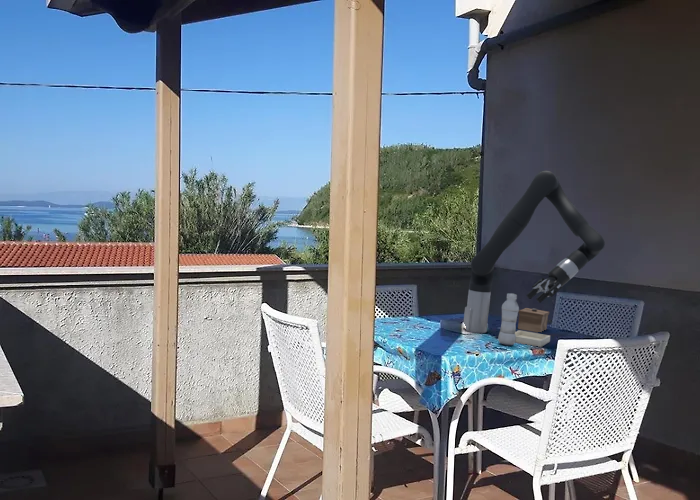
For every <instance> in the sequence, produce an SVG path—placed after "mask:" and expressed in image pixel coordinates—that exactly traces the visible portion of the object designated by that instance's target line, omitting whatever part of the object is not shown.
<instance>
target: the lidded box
mask: <svg viewBox="0 0 700 500" xmlns="http://www.w3.org/2000/svg"><path fill="white" fill-rule="evenodd" d="M518 314H519V315H518V323H517V330H521V331H527V332H533V333H538V332H541V333H543V332H544V330H545V331H546V330H547V328H548V319H549V315H550V311H547V310H543V309H542V310H541V309H538V308H536V307H535V308H534V307H533V308H528V307H525V308H523V309H519V311H518ZM542 331H543V332H542Z"/></svg>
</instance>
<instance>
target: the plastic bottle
mask: <svg viewBox="0 0 700 500" xmlns="http://www.w3.org/2000/svg"><path fill="white" fill-rule="evenodd" d="M517 299H518V295H517V294H515V293H512V292H511V293H506V300H505V301H504V302H503V303H502V305H501V323H500V324H501V326H500V330H499V332H498V338H497V339H498V343H499V344H502V345H504V346H512V345H513V346H514V345H515V344H516V343H515V341H516V334H515V332H516V330H517V329H516V328H517V327H516V324H517V319H518V318H517V317H518V316H519V315H518V314H519V313H518V312H519V310H520V307H519V304H518V302H517Z"/></svg>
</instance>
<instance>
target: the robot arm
mask: <svg viewBox="0 0 700 500" xmlns="http://www.w3.org/2000/svg"><path fill="white" fill-rule="evenodd" d="M544 198H546V199H547V200H548V201H549V202H550V204H552V205H553V207H554V208H555V209H556V211H557V212H558V213H559V215H560V217H561V219H562V220H563V221H564V223H565V224H566V226H567V227H568V228H569V230H570V231H571V232H572V233H573V235H574V236H575V237H577V238H578V237H579V238H580V239H581V240H582V242H583V243H582V244H581V245H580V246H579V247H578V248H577V249H576V250H574V251H572V252H570V254H569V255H568V256H566V257H565V258H564V259H562V260H561V261H560V262H558V263H557V264H556V265H555V266H554V267H552V268H551V270H550V271H548V273H547V275H548V277H547V278H546V279H545V278H544V277H541V278H540V279H539V280H537V281H536V282H535V283H534V284H533V285H531V288H532V290H530V291H529V292H528V293H527V294H526V297H527V298H528V299H529V300H531V299H533V298H534V297H536V295H538V293H540V292H541V294H540V295H538V296H537V297H536V301H537V302H538V303H539V304H541V303H542V302H544V300H545V299H547V298H549V297H551V298H552V297H553V296H555V295H556V294H557V293H558V292H559V291H560V290H562V289H563V286H565V284H567V283H568V282H569V281H570V280H571V279H573V278H574V277H575V276H576V275H577V273H579V271H580V270H582V269H583V268H584V267H585V266H586V265H587V264H588V263H589V262H590V261H592V260H593V259H594V258H596V257H597V256H598V255H599V254H600V253H601V252H602V251H603V249H604V248H605V244H606V243H605V239H604V238H603V236H602V235H601V234H600V232H598V231H597V230H596V228H594V227H593V226H592V225H590V224H589V222H588V221H587V219H586V218H585V217H584V215H583V214H582V213H581V212H580V210H579V209H578V208H577V207H576V206H575V205H574V203H572V201H571V200H570V199H569V198H568V196H567V195H566V193H565V191H564V189H563V187H562V185H561V184H560V181H559V178H558V177H557V175H555V173H553V172H552V171H550V170H543V171H539V172H538V173H537V174H536V175H535V176H534V178H533V179H532V181H531V182H530V184H529V186H528V187H527V189H526V191H524V193H523V195H522V196H521V197H520V199H519V200H518V201H517V202H516V203H515V204H514V205H513V206H512V208H511V209H510V210H509V211H508V212H507V214H506V215H505V216H504V218H503V219H502V220H501V222H500V224H499V225H497V228H496V229H495V230H494V232H493V234H492V236H491V237H490V239H489V241H487V243H486V244H485V245H484V246H483V247H482V248H481V250H480V251H479V252H477V254H476V255H475V256H473V258H472V259H471V261H470V267H471V274H470V279H469V285H468V294H467V305H466V306H465V307H464V314H463V323H464V324H465V326H466V330H465V331H466V332H470V333H471V332H472V333H477V334H478V333H479V334H482V333H483V334H484V333H487V330H488V319H489V314H490V313H489V312H490V311H489V310H490V303H491V302H490V301H491V292H492V286H493V279H494V271H495V264H496V263H497V262H498V260H499V258H500V257H501V255H502V254H503V253H504V252H505V251H506V249H508V248H509V246H511V245H512V243H514V242H515V241H516V240H517V239H518V237H519V236H520V235H521V234H522V233H523V232H524V230H525V229H526V228H527V226H528V224H529V223H530V221H531V219H532V217H533V215H534V213H535V211H536V209H537V208H538V206H539V204H540V203H541V202H542V201H543V200H544ZM463 323H462V324H463Z"/></svg>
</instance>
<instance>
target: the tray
mask: <svg viewBox="0 0 700 500" xmlns="http://www.w3.org/2000/svg"><path fill="white" fill-rule="evenodd" d="M515 334H516V341H515V343H514V344H520V343H521V344H522V345H525V344H527V346H531V345H532V346H531V347H536V346H538V347H537V348H542V347H543V346H545V345H547V344H548V343H550V342H551V335H548V334H542V333H538V332H533V331H527V330H521V329H518V330H517V331H516V330H515Z"/></svg>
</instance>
